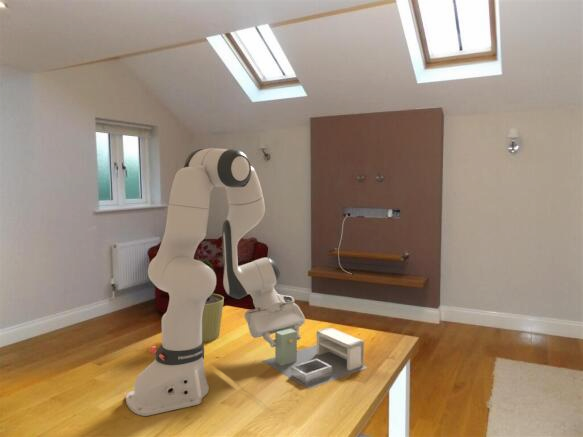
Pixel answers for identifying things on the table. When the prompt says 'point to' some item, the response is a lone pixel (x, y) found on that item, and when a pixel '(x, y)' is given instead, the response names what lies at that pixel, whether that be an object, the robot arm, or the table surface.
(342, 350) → the gray base with shelf
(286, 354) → the tall mint green pillar
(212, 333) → the potted cactus
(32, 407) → the table surface
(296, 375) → the hollow rectangular frame
